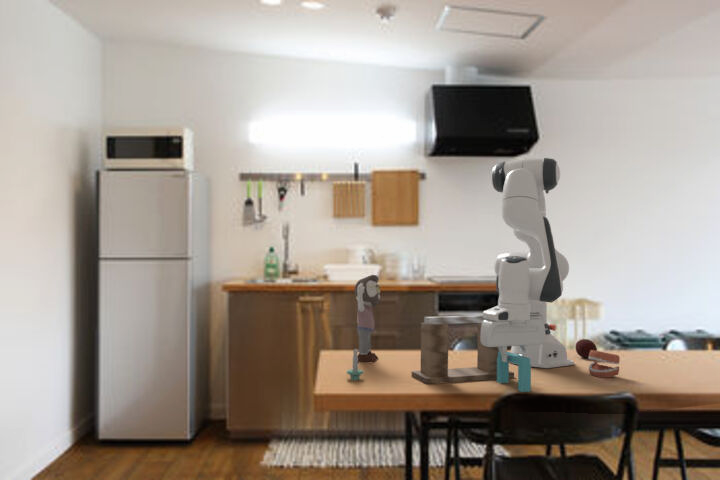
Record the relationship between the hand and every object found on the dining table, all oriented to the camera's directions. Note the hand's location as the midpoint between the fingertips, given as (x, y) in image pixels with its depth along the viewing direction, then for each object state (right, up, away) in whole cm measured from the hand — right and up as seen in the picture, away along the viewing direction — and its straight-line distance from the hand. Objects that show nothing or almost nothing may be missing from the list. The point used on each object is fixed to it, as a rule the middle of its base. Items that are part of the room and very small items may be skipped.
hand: (513, 361), depth 147 cm
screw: (-45, -7, +5) cm, 46 cm away
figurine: (-42, -8, +31) cm, 53 cm away
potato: (+40, -9, +44) cm, 60 cm away
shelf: (-12, -7, +10) cm, 18 cm away
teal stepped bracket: (0, -7, 0) cm, 7 cm away
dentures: (+32, -9, +16) cm, 37 cm away
